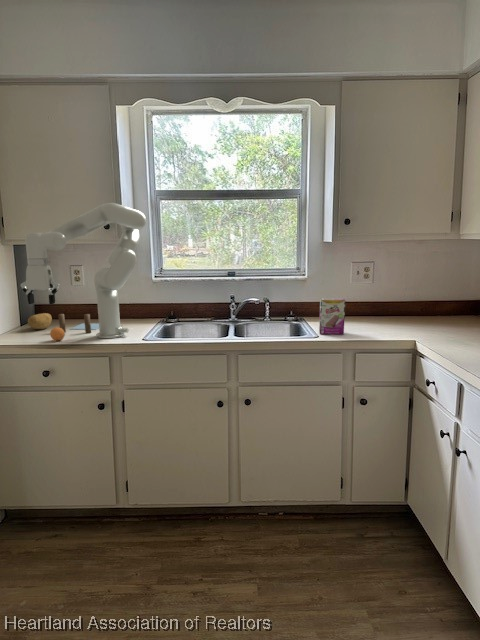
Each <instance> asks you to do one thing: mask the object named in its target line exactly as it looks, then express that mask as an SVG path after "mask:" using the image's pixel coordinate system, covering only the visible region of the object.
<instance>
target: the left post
mask: <svg viewBox="0 0 480 640" xmlns="http://www.w3.org/2000/svg"><path fill="white" fill-rule="evenodd" d="M65 318H66V317H65V314H64V313H59V314H58V323H59V324H58V325H59V328H62V329H63V330H64V332H65V333H66V329H67V328H66V319H65Z"/></svg>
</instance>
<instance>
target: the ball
mask: <svg viewBox="0 0 480 640" xmlns="http://www.w3.org/2000/svg"><path fill="white" fill-rule="evenodd" d="M49 333H50V334H49V335H50V337H51V339H52V340H54V341H61V340H63V339H64V338H65V334H66V332H64V330H63V329H62V328H60V326H59V327H54V328H52V329H51V330H50V332H49Z"/></svg>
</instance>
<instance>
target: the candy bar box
mask: <svg viewBox="0 0 480 640" xmlns="http://www.w3.org/2000/svg"><path fill="white" fill-rule="evenodd" d="M345 312H346V299H345V298H328V297H327V298H320V299H319V327H318V332H319V335H335V336H336V335H338V336H339V335H340V336H343V335H344V334H345V315H346V313H345Z"/></svg>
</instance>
